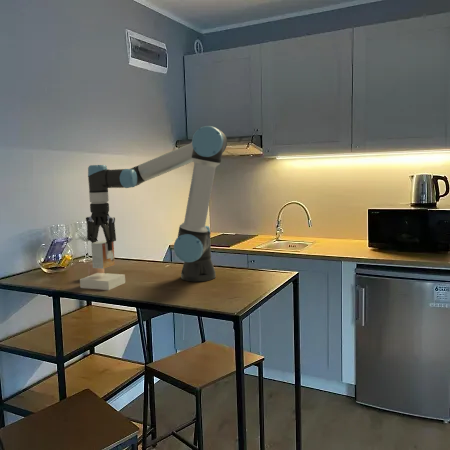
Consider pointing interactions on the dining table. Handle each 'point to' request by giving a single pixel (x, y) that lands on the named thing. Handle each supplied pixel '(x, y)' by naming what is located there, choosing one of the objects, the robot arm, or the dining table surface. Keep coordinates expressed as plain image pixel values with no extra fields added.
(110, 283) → the ceramic block
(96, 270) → the brown rounded block
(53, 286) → the dining table surface
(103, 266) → the small box
